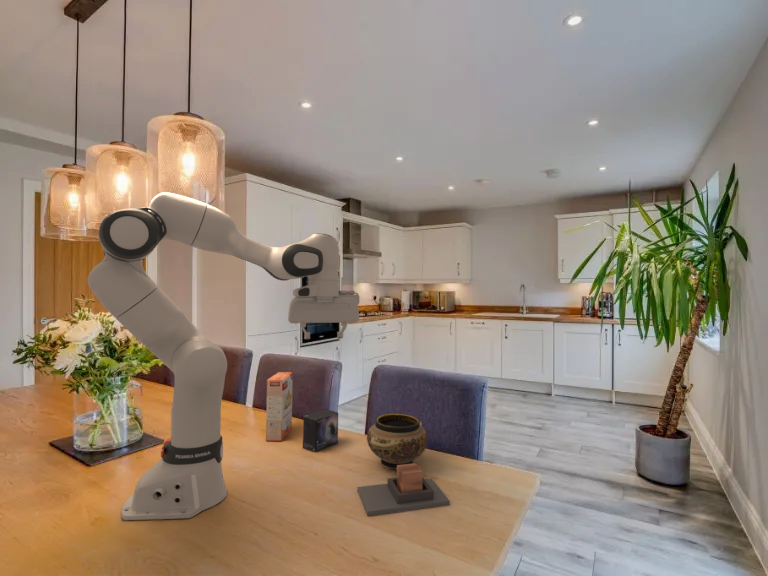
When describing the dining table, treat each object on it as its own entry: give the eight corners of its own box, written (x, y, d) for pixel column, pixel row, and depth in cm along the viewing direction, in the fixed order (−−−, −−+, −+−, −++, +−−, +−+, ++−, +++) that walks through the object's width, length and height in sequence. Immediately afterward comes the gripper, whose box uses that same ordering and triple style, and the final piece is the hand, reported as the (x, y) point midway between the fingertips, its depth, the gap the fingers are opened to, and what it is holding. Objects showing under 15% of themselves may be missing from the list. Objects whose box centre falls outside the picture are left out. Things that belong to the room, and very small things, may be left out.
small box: (315, 453, 128) (316, 419, 128) (301, 448, 132) (301, 415, 132) (339, 443, 137) (339, 411, 137) (325, 439, 141) (325, 408, 141)
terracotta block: (396, 489, 103) (396, 465, 103) (415, 486, 104) (415, 463, 104) (402, 498, 98) (402, 473, 98) (422, 496, 99) (422, 471, 99)
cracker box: (283, 441, 138) (283, 379, 138) (265, 441, 138) (265, 379, 138) (293, 428, 152) (293, 371, 152) (277, 427, 152) (277, 371, 152)
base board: (367, 516, 92) (367, 502, 92) (357, 490, 104) (357, 479, 104) (449, 504, 97) (449, 492, 97) (431, 482, 109) (431, 470, 109)
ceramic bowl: (393, 495, 107) (405, 443, 105) (342, 463, 117) (353, 414, 115) (435, 463, 127) (446, 418, 126) (389, 438, 137) (399, 396, 135)
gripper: (357, 290, 124) (357, 336, 124) (288, 290, 119) (287, 338, 119) (361, 290, 118) (361, 338, 118) (288, 290, 113) (288, 340, 113)
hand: (323, 338), depth 118 cm, fingers open, 8 cm apart
